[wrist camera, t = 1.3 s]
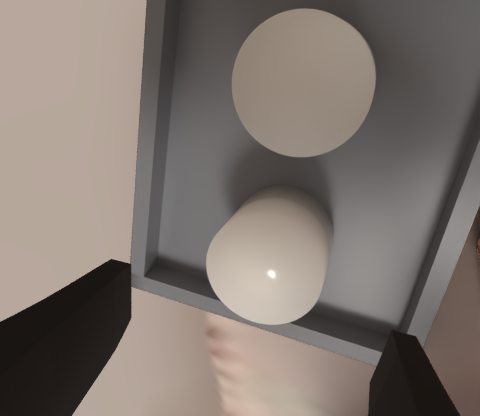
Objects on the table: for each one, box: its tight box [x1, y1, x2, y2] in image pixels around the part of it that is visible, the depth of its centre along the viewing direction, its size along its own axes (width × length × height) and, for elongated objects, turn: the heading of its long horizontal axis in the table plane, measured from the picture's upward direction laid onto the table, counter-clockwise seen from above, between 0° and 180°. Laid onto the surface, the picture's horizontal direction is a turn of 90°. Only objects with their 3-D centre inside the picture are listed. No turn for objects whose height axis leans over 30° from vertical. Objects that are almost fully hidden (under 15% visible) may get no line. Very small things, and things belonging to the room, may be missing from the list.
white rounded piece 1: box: [232, 8, 377, 157], centre depth 16 cm, size 5×5×4 cm
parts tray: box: [130, 0, 480, 366], centre depth 19 cm, size 16×14×2 cm
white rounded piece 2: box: [206, 185, 334, 325], centre depth 19 cm, size 5×5×4 cm
